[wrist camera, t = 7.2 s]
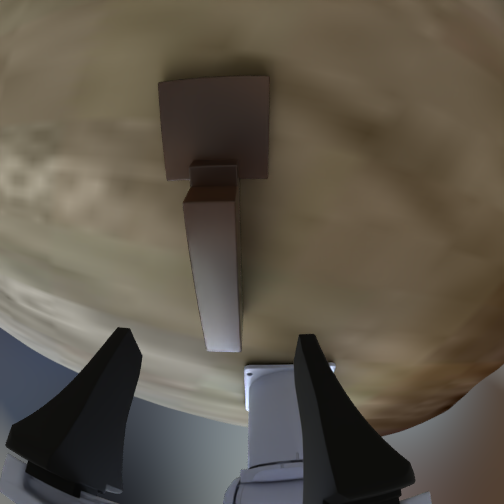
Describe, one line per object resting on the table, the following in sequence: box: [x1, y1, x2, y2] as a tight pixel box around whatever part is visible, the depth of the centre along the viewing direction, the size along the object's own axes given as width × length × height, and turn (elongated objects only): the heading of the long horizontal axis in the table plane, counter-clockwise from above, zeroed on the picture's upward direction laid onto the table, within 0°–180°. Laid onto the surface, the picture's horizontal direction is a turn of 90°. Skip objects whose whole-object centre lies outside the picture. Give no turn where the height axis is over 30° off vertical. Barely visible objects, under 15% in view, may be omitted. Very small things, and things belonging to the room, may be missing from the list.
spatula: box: [158, 76, 270, 352], centre depth 14 cm, size 15×5×3 cm, turn 0°
